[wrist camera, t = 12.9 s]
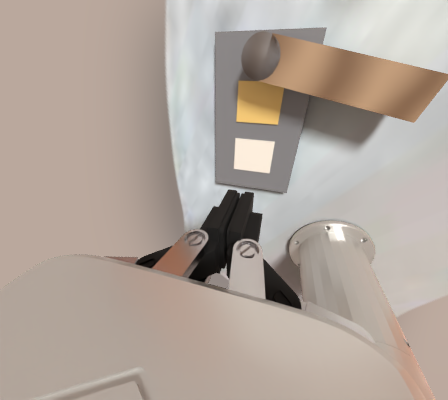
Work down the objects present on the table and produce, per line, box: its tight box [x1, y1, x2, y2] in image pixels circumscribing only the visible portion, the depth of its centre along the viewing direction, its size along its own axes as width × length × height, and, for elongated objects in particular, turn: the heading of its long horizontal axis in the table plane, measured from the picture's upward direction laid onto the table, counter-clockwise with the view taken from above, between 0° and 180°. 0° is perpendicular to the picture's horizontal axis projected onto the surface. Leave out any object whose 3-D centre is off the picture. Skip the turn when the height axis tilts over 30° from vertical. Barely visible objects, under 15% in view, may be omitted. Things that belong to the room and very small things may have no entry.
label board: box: [215, 28, 326, 193], centre depth 23 cm, size 18×11×2 cm, turn 179°
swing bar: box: [241, 31, 448, 123], centre depth 17 cm, size 17×4×2 cm, turn 78°
